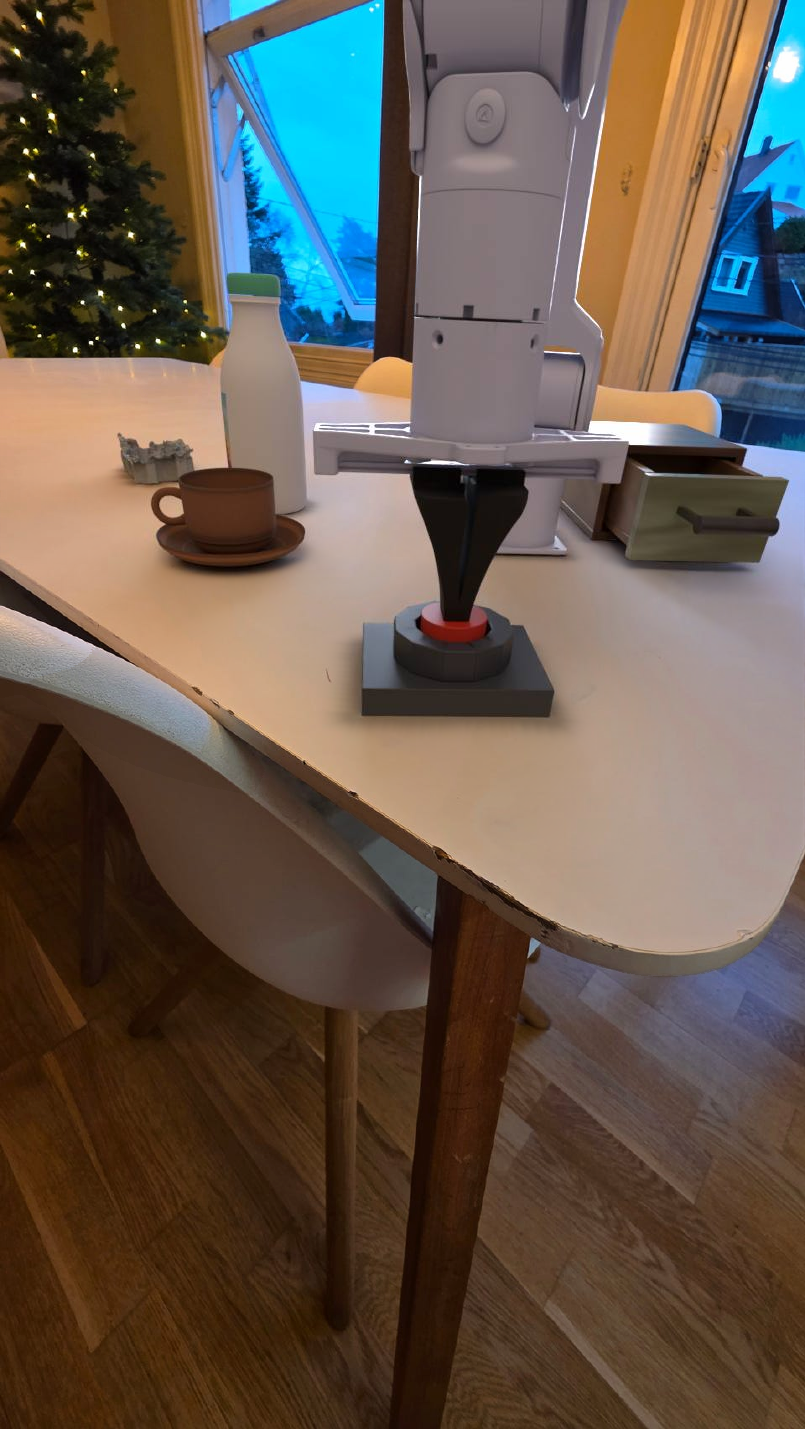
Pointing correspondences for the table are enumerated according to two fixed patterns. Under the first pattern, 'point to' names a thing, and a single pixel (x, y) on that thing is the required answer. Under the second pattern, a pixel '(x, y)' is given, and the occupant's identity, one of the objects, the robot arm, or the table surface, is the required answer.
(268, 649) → the table surface
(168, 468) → the egg carton
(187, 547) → the cup and saucer
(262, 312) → the milk bottle
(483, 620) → the button
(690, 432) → the cabinet
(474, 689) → the control block
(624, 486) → the drawer
